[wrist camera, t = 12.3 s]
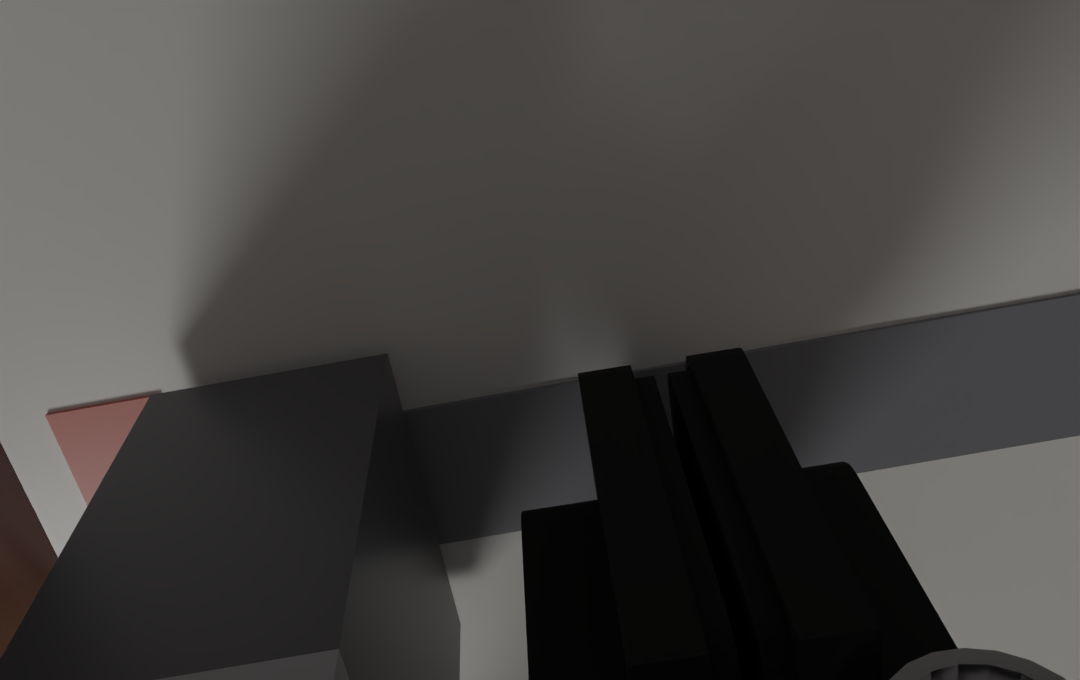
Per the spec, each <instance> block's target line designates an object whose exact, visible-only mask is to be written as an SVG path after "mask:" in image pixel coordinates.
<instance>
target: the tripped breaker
mask: <svg viewBox="0 0 1080 680" xmlns="http://www.w3.org/2000/svg"><path fill="white" fill-rule="evenodd" d="M460 630H461V623H460V620H459V616H458V612H457V609H456V605H455V601H454V598H453V594H452V590H451V586H450V583H449V579H448V575H447V572H446V568H445V564H444V561H443V557H442V553H441V549H440V546H439V542H438V538H437V535H436V531H435V527H434V524H433V520H432V516H431V512H430V509H429V505H428V501H427V498H426V494H425V490H424V487H423V483H422V479H421V476H420V472H419V468H418V464H417V461H416V457H415V453H414V450H413V446H412V442H411V439H410V435H409V431H408V427H407V424H406V420H405V416H404V413H403V409H402V405H401V402H400V398H399V394H398V390H397V387H396V383H395V379H394V376H393V372H392V368H391V365H390V361H389V357H388V353H387V354H381V355H375V356H370V357H364V358H358V359H352V360H347V361H341V362H335V363H330V364H324V365H318V366H313V367H307V368H301V369H295V370H290V371H284V372H278V373H273V374H267V375H261V376H256V377H250V378H244V379H238V380H233V381H227V382H221V383H216V384H210V385H204V386H199V387H193V388H187V389H181V390H176V391H170V392H164V393H159V394H153V395H150V397H149V399H148V400H147V402H146V404H145V406H144V408H143V409H142V411H141V413H140V415H139V416H138V418H137V420H136V422H135V423H134V425H133V427H132V429H131V430H130V432H129V434H128V436H127V437H126V439H125V441H124V443H123V444H122V446H121V448H120V450H119V452H118V453H117V455H116V457H115V459H114V460H113V462H112V464H111V466H110V467H109V469H108V471H107V473H106V474H105V476H104V478H103V480H102V481H101V483H100V485H99V487H98V488H97V490H96V492H95V494H94V496H93V497H92V499H91V501H90V503H89V504H88V506H87V508H86V510H85V511H84V513H83V515H82V517H81V518H80V520H79V522H78V524H77V525H76V527H75V529H74V531H73V533H72V534H71V536H70V538H69V540H68V541H67V543H66V545H65V547H64V548H63V550H62V552H61V554H60V555H59V557H58V559H57V561H56V562H55V564H54V566H53V568H52V569H51V571H50V573H49V575H48V577H47V578H46V580H45V582H44V584H43V585H42V587H41V589H40V591H39V592H38V594H37V596H36V598H35V599H34V601H33V603H32V605H31V606H30V608H29V610H28V612H27V613H26V615H25V617H24V619H23V621H22V622H21V624H20V626H19V628H18V629H17V631H16V633H15V635H14V636H13V638H12V640H11V642H10V643H9V645H8V647H7V649H6V650H5V652H4V654H3V656H2V657H1V659H0V680H460Z"/></svg>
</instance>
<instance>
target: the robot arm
mask: <svg viewBox="0 0 1080 680" xmlns="http://www.w3.org/2000/svg"><path fill="white" fill-rule="evenodd" d="M578 379H579V385H580V392H581V398H582V405H583V411H584V418H585V424H586V430H587V437H588V443H589V450H590V456H591V462H592V469H593V475H594V481H595V488H596V494H597V500H592V501H585V502H579V503H572V504H566V505H559V506H553V507H546V508H540V509H533V510H527V511H522V513H521V534H522V555H523V575H524V595H525V615H526V636H527V656H528V676H529V680H1066V679H1065V678H1063V677H1062V676H1060V675H1058V674H1056V673H1054V672H1052V671H1050V670H1049V669H1047V668H1045V667H1043V666H1041V665H1039V664H1037V663H1035V662H1033V661H1031V660H1028V659H1025V658H1021V657H1018V656H1014V655H1011V654H1007V653H1004V652H1000V651H997V650H984V649H972V648H959V649H958V648H957V646H956V644H955V643H954V641H953V639H952V637H951V636H950V634H949V632H948V631H947V629H946V627H945V625H944V624H943V622H942V620H941V618H940V617H939V615H938V613H937V612H936V610H935V608H934V606H933V605H932V603H931V601H930V599H929V598H928V596H927V594H926V593H925V591H924V589H923V587H922V586H921V584H920V582H919V580H918V579H917V577H916V575H915V574H914V572H913V570H912V568H911V567H910V565H909V563H908V561H907V560H906V558H905V556H904V555H903V553H902V551H901V549H900V548H899V546H898V544H897V542H896V541H895V539H894V537H893V536H892V534H891V532H890V530H889V529H888V527H887V525H886V523H885V522H884V520H883V518H882V517H881V515H880V513H879V511H878V510H877V508H876V506H875V504H874V503H873V501H872V499H871V498H870V496H869V494H868V492H867V491H866V489H865V487H864V485H863V484H862V482H861V480H860V479H859V477H858V475H857V473H856V472H855V471H854V469H853V468H852V467H851V465H850V464H848V463H846V462H844V461H843V462H837V463H830V464H824V465H817V466H811V467H804V468H802V467H801V465H800V463H799V461H798V459H797V457H796V455H795V453H794V451H793V449H792V447H791V445H790V443H789V441H788V439H787V437H786V435H785V433H784V431H783V429H782V427H781V425H780V423H779V421H778V419H777V417H776V415H775V413H774V411H773V409H772V407H771V405H770V403H769V401H768V399H767V397H766V395H765V393H764V391H763V389H762V387H761V385H760V383H759V381H758V379H757V377H756V375H755V373H754V371H753V369H752V367H751V365H750V363H749V361H748V359H747V357H746V355H745V353H744V351H743V350H742V348H733V349H727V350H720V351H714V352H708V353H701V354H695V355H689V356H686V370H684V371H678V372H672V373H668V391H669V400H670V409H671V418H672V427H673V435H672V432H671V428H670V425H669V422H668V419H667V415H666V412H665V409H664V406H663V402H662V399H661V396H660V393H659V389H658V386H657V383H656V380H655V377H654V376H647V377H641V378H634V375H633V371H632V368H631V365H626V366H620V367H613V368H607V369H601V370H594V371H588V372H582V373H578ZM673 436H674V438H673Z"/></svg>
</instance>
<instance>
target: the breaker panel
mask: <svg viewBox="0 0 1080 680" xmlns="http://www.w3.org/2000/svg"><path fill="white" fill-rule="evenodd" d="M733 348H742V350H743V351H744V353H745V355H746V357H747V359H748V361H749V363H750V365H751V367H752V369H753V371H754V373H755V375H756V377H757V379H758V381H759V383H760V385H761V387H762V389H763V391H764V393H765V395H766V397H767V399H768V401H769V403H770V405H771V407H772V409H773V411H774V413H775V415H776V417H777V419H778V421H779V423H780V425H781V427H782V429H783V431H784V433H785V435H786V437H787V439H788V441H789V443H790V445H791V447H792V449H793V451H794V453H795V455H796V457H797V459H798V461H799V463H800V465H801V467H802V468H804V467H811V466H817V465H824V464H830V463H837V462H843V461H844V462H846V463H848V464H850V465H851V467H852V468H853V469H854V471H855V472H856V473H857V475H858V477H859V479H860V480H861V482H862V484H863V485H864V487H865V489H866V491H867V492H868V494H869V496H870V498H871V499H872V501H873V503H874V504H875V506H876V508H877V510H878V511H879V513H880V515H881V517H882V518H883V520H884V522H885V523H886V525H887V527H888V529H889V530H890V532H891V534H892V536H893V537H894V539H895V541H896V542H897V544H898V546H899V548H900V549H901V551H902V553H903V555H904V556H905V558H906V560H907V561H908V563H909V565H910V567H911V568H912V570H913V572H914V574H915V575H916V577H917V579H918V580H919V582H920V584H921V586H922V587H923V589H924V591H925V593H926V594H927V596H928V598H929V599H930V601H931V603H932V605H933V606H934V608H935V610H936V612H937V613H938V615H939V617H940V618H941V620H942V622H943V624H944V625H945V627H946V629H947V631H948V632H949V634H950V636H951V637H952V639H953V641H954V643H955V644H956V646H957V648H958V649H959V648H972V649H984V650H997V651H1000V652H1004V653H1007V654H1011V655H1014V656H1018V657H1021V658H1025V659H1028V660H1031V661H1033V662H1035V663H1037V664H1039V665H1041V666H1043V667H1045V668H1047V669H1049V670H1050V671H1052V672H1054V673H1056V674H1058V675H1060V676H1062V677H1063V678H1065V679H1066V680H1080V0H0V442H1V444H2V446H3V448H4V450H5V452H6V454H7V456H8V458H9V460H10V462H11V464H12V466H13V468H14V470H15V472H16V474H17V476H18V478H19V480H20V482H21V484H22V486H23V488H24V490H25V492H26V494H27V496H28V498H29V500H30V502H31V504H32V506H33V508H34V510H35V512H36V514H37V516H38V518H39V520H40V522H41V524H42V526H43V528H44V530H45V532H46V534H47V536H48V538H49V540H50V542H51V544H52V546H53V548H54V550H55V552H56V554H57V556H58V557H59V555H60V554H61V552H62V550H63V548H64V547H65V545H66V543H67V541H68V540H69V538H70V536H71V534H72V533H73V531H74V529H75V527H76V525H77V524H78V522H79V520H80V518H81V517H82V515H83V513H84V511H85V510H86V508H87V506H88V504H89V503H90V501H91V499H92V497H93V496H94V494H95V492H96V490H97V488H98V487H99V485H100V483H101V481H102V480H103V478H104V476H105V474H106V473H107V471H108V469H109V467H110V466H111V464H112V462H113V460H114V459H115V457H116V455H117V453H118V452H119V450H120V448H121V446H122V444H123V443H124V441H125V439H126V437H127V436H128V434H129V432H130V430H131V429H132V427H133V425H134V423H135V422H136V420H137V418H138V416H139V415H140V413H141V411H142V409H143V408H144V406H145V404H146V402H147V400H148V399H149V397H150V395H153V394H159V393H164V392H170V391H176V390H181V389H187V388H193V387H199V386H204V385H210V384H216V383H221V382H227V381H233V380H238V379H244V378H250V377H256V376H261V375H267V374H273V373H278V372H284V371H290V370H295V369H301V368H307V367H313V366H318V365H324V364H330V363H335V362H341V361H347V360H352V359H358V358H364V357H370V356H375V355H381V354H387V353H388V357H389V361H390V365H391V368H392V372H393V376H394V379H395V383H396V387H397V390H398V394H399V398H400V402H401V405H402V409H403V413H404V416H405V420H406V424H407V427H408V431H409V435H410V439H411V442H412V446H413V450H414V453H415V457H416V461H417V464H418V468H419V472H420V476H421V479H422V483H423V487H424V490H425V494H426V498H427V501H428V505H429V509H430V512H431V516H432V520H433V524H434V527H435V531H436V535H437V538H438V542H439V546H440V549H441V553H442V557H443V561H444V564H445V568H446V572H447V575H448V579H449V583H450V586H451V590H452V594H453V598H454V601H455V605H456V609H457V612H458V616H459V620H460V623H461V630H460V680H529V676H528V656H527V636H526V615H525V595H524V575H523V555H522V534H521V513H522V511H527V510H533V509H540V508H546V507H553V506H559V505H566V504H572V503H579V502H585V501H592V500H597V494H596V488H595V481H594V475H593V469H592V462H591V456H590V450H589V443H588V437H587V430H586V424H585V418H584V411H583V405H582V398H581V392H580V385H579V379H578V373H582V372H588V371H594V370H601V369H607V368H613V367H620V366H626V365H631V368H632V371H633V375H634V378H641V377H647V376H654V377H655V380H656V383H657V386H658V389H659V393H660V396H661V399H662V402H663V406H664V409H665V412H666V415H667V419H668V422H669V425H670V428H671V432H672V435H673V427H672V418H671V409H670V400H669V391H668V373H672V372H678V371H684V370H686V356H689V355H695V354H701V353H708V352H714V351H720V350H727V349H733ZM673 438H674V436H673Z"/></svg>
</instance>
